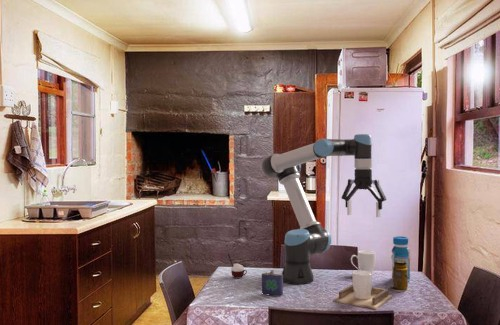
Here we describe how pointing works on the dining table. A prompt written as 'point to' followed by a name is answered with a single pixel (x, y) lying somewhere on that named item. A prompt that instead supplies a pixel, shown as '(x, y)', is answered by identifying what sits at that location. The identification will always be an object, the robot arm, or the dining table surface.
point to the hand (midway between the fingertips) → (363, 215)
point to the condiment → (400, 276)
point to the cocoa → (237, 269)
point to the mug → (365, 260)
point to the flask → (272, 283)
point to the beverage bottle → (401, 252)
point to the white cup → (362, 284)
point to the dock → (374, 302)
